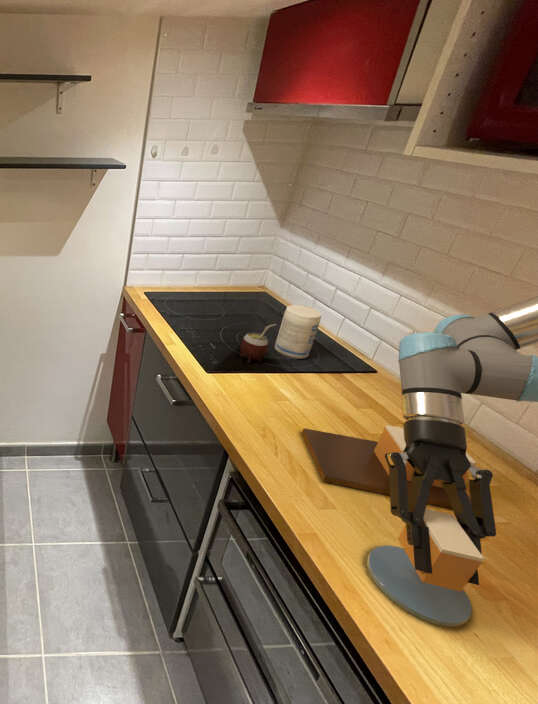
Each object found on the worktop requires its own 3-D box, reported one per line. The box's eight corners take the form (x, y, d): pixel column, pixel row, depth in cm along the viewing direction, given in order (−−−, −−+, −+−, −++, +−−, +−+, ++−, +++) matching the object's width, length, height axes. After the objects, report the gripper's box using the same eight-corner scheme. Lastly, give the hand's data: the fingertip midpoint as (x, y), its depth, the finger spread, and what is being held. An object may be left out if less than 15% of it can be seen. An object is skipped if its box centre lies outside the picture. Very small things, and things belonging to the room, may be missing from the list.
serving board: (430, 457, 101) (433, 452, 100) (475, 513, 87) (478, 508, 86) (301, 432, 108) (303, 427, 107) (323, 481, 94) (325, 476, 93)
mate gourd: (241, 350, 143) (252, 308, 137) (268, 359, 139) (281, 315, 133) (235, 360, 138) (246, 316, 132) (263, 369, 134) (276, 324, 127)
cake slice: (433, 546, 74) (452, 514, 71) (461, 592, 67) (484, 559, 64) (397, 538, 76) (415, 506, 73) (422, 582, 69) (442, 549, 66)
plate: (462, 578, 75) (465, 574, 74) (475, 646, 65) (478, 642, 65) (367, 536, 82) (369, 532, 82) (366, 591, 73) (368, 588, 72)
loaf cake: (438, 463, 97) (452, 436, 94) (459, 491, 90) (476, 463, 87) (373, 451, 100) (385, 424, 97) (389, 477, 93) (403, 449, 90)
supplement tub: (310, 362, 137) (325, 320, 131) (275, 356, 141) (288, 314, 135) (305, 348, 145) (318, 307, 139) (272, 342, 149) (284, 302, 143)
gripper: (481, 436, 76) (500, 590, 69) (358, 415, 81) (363, 556, 73) (519, 432, 69) (544, 602, 62) (382, 409, 74) (390, 563, 66)
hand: (446, 576), depth 68 cm, fingers closed on cake slice, 5 cm apart
